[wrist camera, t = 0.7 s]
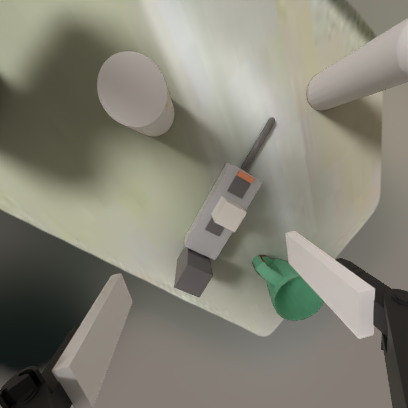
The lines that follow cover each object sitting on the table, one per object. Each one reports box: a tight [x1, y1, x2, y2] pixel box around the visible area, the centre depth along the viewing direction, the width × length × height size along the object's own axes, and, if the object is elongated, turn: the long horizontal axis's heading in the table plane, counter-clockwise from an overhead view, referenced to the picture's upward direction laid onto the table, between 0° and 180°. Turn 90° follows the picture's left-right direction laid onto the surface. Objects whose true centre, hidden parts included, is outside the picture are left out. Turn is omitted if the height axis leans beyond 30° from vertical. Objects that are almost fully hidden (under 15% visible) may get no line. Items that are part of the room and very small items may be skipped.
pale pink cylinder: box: [97, 51, 174, 136], centre depth 28 cm, size 8×8×12 cm
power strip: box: [184, 118, 275, 260], centre depth 36 cm, size 7×29×5 cm, turn 151°
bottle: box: [307, 18, 408, 111], centre depth 22 cm, size 7×7×28 cm
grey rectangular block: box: [174, 247, 213, 297], centre depth 37 cm, size 5×8×9 cm, turn 151°
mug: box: [252, 255, 324, 321], centre depth 39 cm, size 15×10×10 cm
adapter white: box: [211, 196, 247, 232], centre depth 33 cm, size 4×4×4 cm
